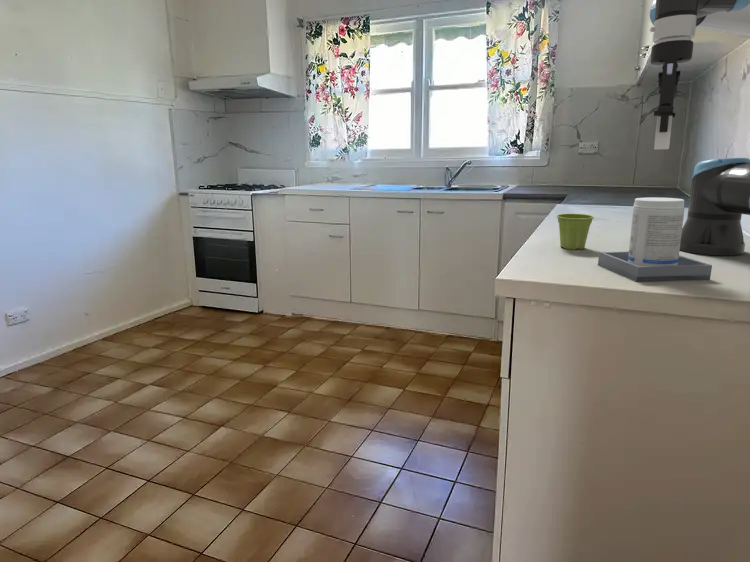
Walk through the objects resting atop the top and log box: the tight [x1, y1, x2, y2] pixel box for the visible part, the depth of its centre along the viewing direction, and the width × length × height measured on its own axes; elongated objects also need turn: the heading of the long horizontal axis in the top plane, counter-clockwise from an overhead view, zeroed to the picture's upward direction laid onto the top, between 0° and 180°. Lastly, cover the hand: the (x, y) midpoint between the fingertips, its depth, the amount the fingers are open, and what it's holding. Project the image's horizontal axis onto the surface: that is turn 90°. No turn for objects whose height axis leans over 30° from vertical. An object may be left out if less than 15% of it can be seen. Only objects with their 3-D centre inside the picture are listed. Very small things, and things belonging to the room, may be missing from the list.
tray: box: [597, 250, 713, 283], centre depth 111 cm, size 16×16×3 cm
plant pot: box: [556, 213, 595, 250], centre depth 138 cm, size 9×9×9 cm
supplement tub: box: [628, 196, 685, 266], centre depth 110 cm, size 10×10×15 cm
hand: (661, 148), depth 111 cm, fingers open, 13 cm apart
